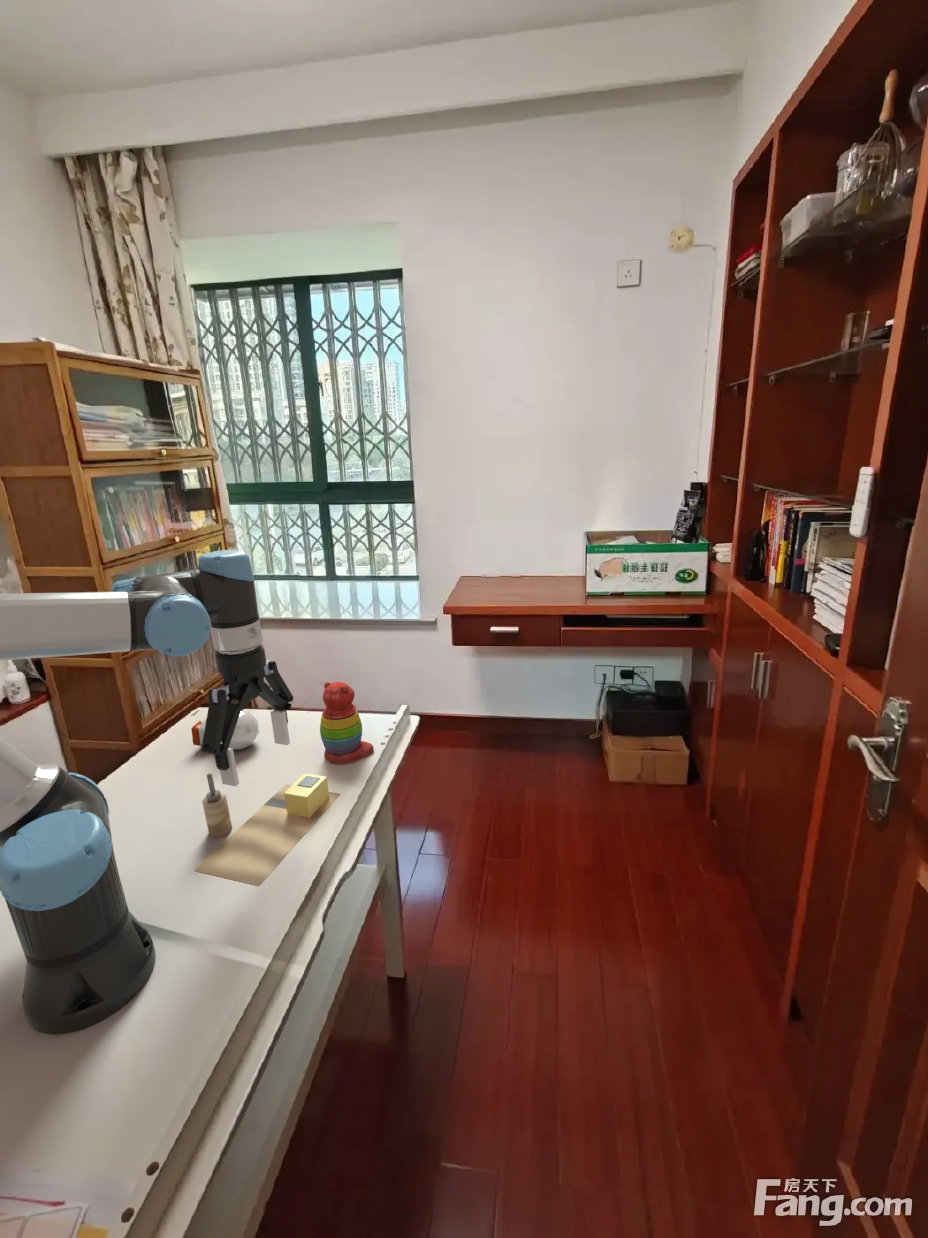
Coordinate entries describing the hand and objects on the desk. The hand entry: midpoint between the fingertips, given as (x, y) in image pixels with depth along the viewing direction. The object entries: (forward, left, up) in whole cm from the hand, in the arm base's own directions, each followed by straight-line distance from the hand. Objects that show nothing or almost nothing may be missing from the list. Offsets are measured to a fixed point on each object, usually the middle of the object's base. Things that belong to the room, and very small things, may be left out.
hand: (258, 762), depth 100 cm
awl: (-1, +10, -17) cm, 20 cm away
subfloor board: (+2, +1, -17) cm, 17 cm away
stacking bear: (+31, +2, -17) cm, 36 cm away
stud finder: (+10, -1, -15) cm, 19 cm away
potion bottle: (+27, +32, -17) cm, 45 cm away
